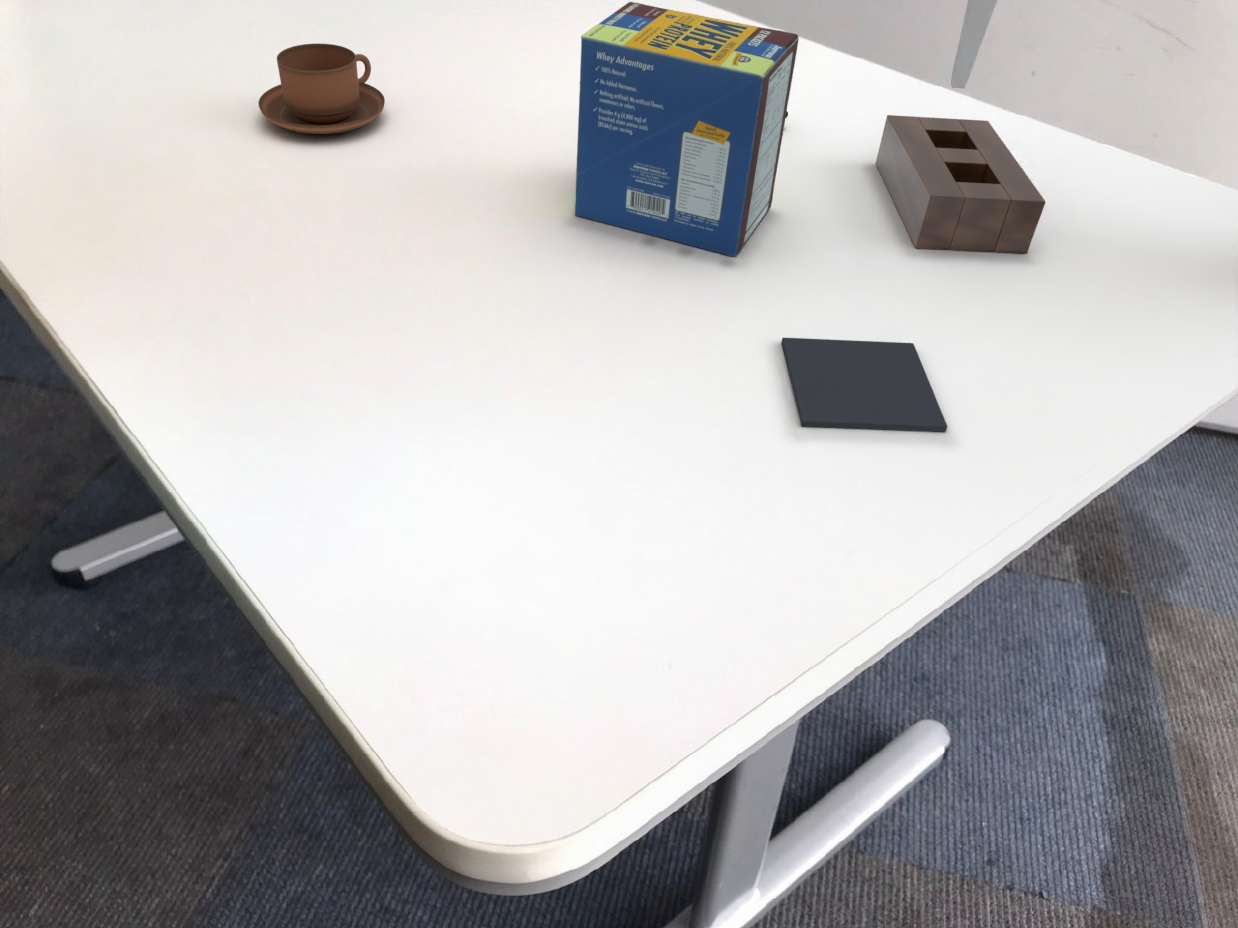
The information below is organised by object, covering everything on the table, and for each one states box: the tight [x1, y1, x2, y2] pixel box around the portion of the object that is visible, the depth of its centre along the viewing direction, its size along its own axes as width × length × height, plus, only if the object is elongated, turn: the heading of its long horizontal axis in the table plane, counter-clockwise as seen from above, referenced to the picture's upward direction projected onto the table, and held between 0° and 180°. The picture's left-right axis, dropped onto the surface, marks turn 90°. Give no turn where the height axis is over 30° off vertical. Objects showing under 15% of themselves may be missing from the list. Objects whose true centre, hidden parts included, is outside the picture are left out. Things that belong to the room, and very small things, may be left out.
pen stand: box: [875, 114, 1046, 254], centre depth 94 cm, size 10×17×5 cm, turn 1°
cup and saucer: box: [258, 43, 386, 135], centre depth 99 cm, size 12×12×6 cm
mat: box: [781, 337, 948, 433], centre depth 73 cm, size 10×10×1 cm
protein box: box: [573, 1, 800, 257], centre depth 86 cm, size 10×15×16 cm
